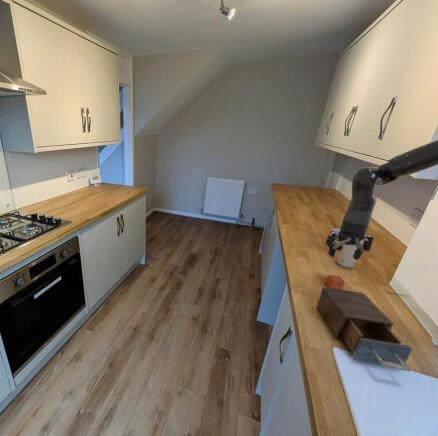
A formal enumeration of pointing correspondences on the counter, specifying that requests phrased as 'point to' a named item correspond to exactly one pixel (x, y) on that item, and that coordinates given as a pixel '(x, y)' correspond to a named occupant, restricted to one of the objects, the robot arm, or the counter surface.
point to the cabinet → (348, 309)
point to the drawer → (375, 344)
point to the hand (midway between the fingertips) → (343, 257)
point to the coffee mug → (337, 230)
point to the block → (334, 282)
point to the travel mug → (347, 256)
